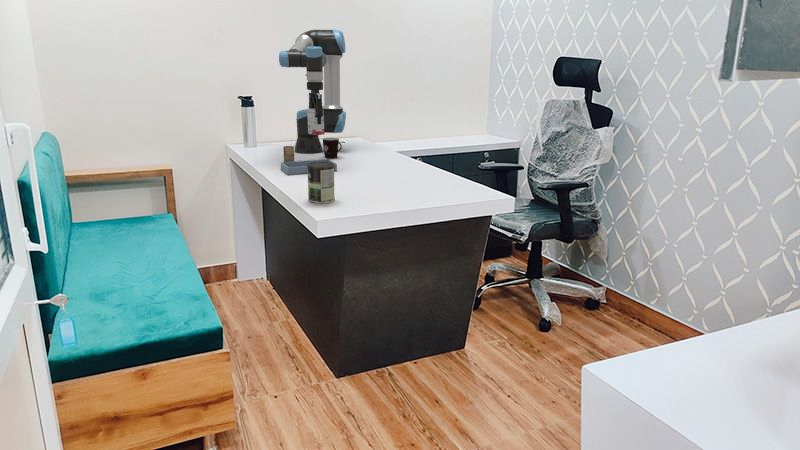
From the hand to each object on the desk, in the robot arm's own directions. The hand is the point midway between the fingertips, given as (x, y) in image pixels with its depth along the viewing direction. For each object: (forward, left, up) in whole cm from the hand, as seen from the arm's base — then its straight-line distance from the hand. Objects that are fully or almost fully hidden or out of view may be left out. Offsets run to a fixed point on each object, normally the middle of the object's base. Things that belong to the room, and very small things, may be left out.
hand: (316, 130), depth 282 cm
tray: (+3, -5, -19) cm, 19 cm away
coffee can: (+58, -15, -19) cm, 63 cm away
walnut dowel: (-14, -10, -19) cm, 26 cm away
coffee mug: (-23, +15, -19) cm, 33 cm away
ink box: (0, 0, -2) cm, 2 cm away
